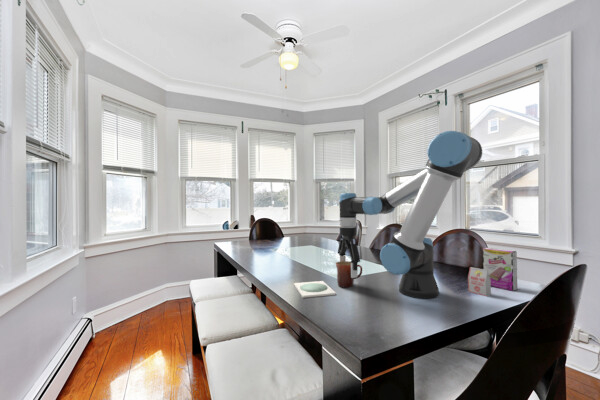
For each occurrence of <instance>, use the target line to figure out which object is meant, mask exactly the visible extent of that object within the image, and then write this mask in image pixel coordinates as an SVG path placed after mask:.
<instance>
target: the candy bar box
mask: <svg viewBox="0 0 600 400" xmlns="http://www.w3.org/2000/svg"><path fill="white" fill-rule="evenodd" d="M517 256H518V255H517V250H512V249H504V248H503V249H502V248H495V247H494V248H493V247H484V248H482V266H483V267H482V269H484V270H488V273H489V277H490V280H491V288H492V287H493V288H497V289H502V290H506V291H511V292H515V291H516V290H518V261H517V260H518V259H517Z"/></svg>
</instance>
